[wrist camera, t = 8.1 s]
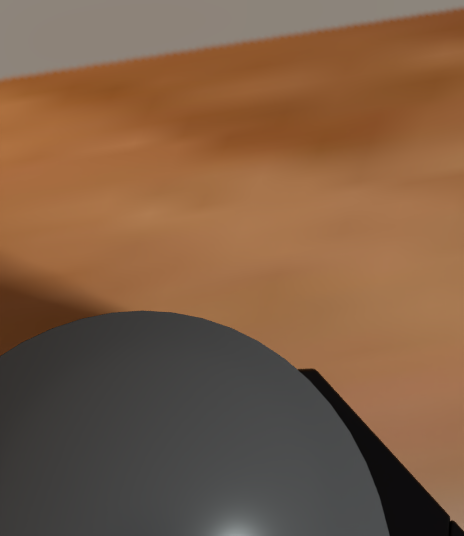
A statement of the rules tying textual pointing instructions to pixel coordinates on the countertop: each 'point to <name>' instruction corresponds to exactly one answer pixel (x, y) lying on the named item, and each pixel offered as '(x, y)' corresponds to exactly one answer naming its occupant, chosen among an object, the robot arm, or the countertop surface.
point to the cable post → (172, 437)
